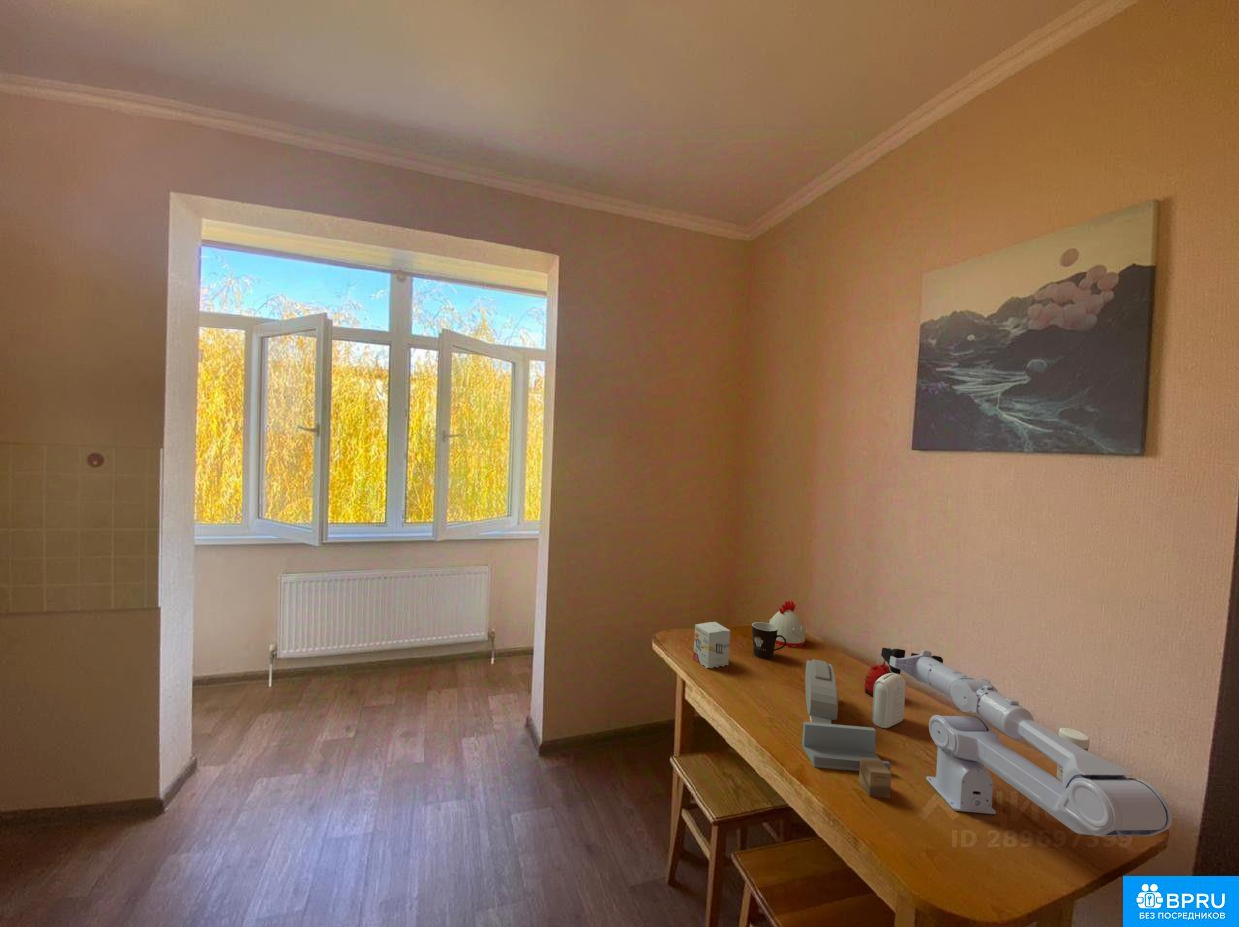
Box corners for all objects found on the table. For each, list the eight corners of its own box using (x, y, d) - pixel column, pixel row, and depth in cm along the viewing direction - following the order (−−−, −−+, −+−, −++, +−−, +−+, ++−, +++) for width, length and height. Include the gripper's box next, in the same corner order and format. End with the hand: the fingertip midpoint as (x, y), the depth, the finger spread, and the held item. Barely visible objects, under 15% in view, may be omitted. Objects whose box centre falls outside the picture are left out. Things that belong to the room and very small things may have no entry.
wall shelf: (889, 773, 101) (891, 747, 101) (814, 766, 102) (815, 741, 102) (872, 751, 109) (873, 727, 109) (802, 745, 110) (803, 721, 110)
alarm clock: (836, 738, 114) (839, 685, 114) (809, 732, 116) (812, 680, 116) (827, 695, 136) (829, 651, 136) (804, 690, 138) (806, 647, 138)
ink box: (692, 658, 156) (694, 623, 156) (713, 655, 160) (715, 620, 160) (707, 669, 148) (709, 632, 148) (729, 666, 152) (731, 629, 152)
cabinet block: (890, 799, 93) (892, 774, 93) (870, 797, 93) (871, 772, 93) (878, 783, 98) (879, 759, 98) (858, 781, 98) (860, 757, 98)
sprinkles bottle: (1049, 790, 99) (1052, 726, 99) (1068, 790, 99) (1072, 726, 99) (1072, 806, 94) (1076, 739, 94) (1092, 805, 95) (1096, 739, 95)
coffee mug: (745, 651, 165) (747, 622, 165) (766, 649, 168) (768, 621, 168) (765, 665, 154) (766, 634, 154) (787, 663, 157) (788, 633, 157)
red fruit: (879, 688, 142) (882, 639, 142) (898, 700, 135) (902, 648, 135) (858, 690, 140) (861, 640, 140) (877, 702, 133) (880, 649, 133)
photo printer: (889, 713, 128) (892, 667, 128) (906, 720, 124) (908, 674, 124) (868, 722, 122) (871, 675, 122) (885, 731, 118) (888, 682, 118)
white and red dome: (812, 644, 176) (815, 604, 176) (787, 650, 169) (790, 608, 169) (782, 631, 188) (785, 594, 188) (758, 636, 181) (760, 597, 181)
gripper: (973, 663, 103) (927, 643, 116) (912, 652, 102) (872, 633, 115) (968, 696, 102) (922, 672, 116) (906, 685, 101) (868, 661, 115)
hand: (897, 654), depth 116 cm, fingers open, 7 cm apart
